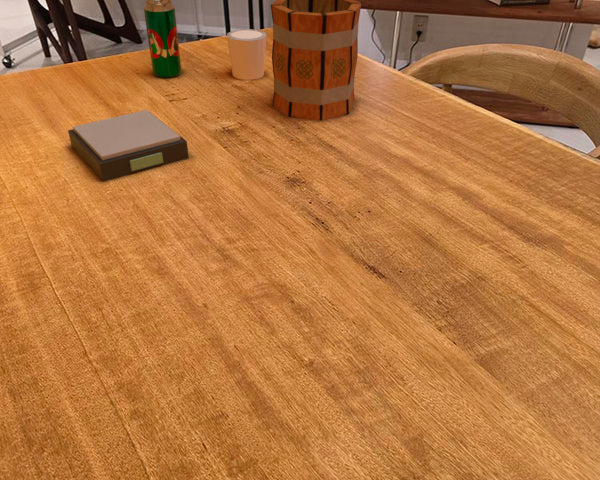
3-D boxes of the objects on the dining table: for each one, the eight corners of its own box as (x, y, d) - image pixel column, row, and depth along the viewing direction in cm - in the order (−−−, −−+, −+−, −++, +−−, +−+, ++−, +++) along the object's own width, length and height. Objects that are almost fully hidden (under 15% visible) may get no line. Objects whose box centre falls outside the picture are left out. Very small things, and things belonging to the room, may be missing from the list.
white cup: (233, 67, 109) (231, 27, 104) (270, 69, 108) (269, 29, 104) (225, 80, 104) (222, 38, 99) (263, 82, 103) (262, 40, 99)
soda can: (179, 68, 108) (171, -3, 100) (184, 78, 104) (176, 4, 97) (151, 71, 107) (141, -2, 99) (155, 80, 103) (144, 6, 95)
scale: (104, 183, 75) (99, 160, 73) (72, 148, 82) (66, 126, 80) (189, 159, 80) (187, 137, 78) (152, 128, 88) (148, 107, 86)
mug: (364, 119, 91) (372, 14, 82) (277, 123, 90) (276, 17, 80) (338, 76, 106) (343, -17, 97) (264, 78, 105) (261, -15, 95)
